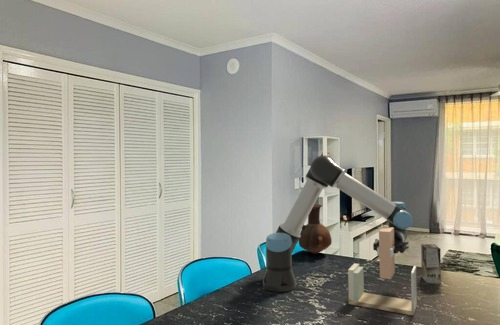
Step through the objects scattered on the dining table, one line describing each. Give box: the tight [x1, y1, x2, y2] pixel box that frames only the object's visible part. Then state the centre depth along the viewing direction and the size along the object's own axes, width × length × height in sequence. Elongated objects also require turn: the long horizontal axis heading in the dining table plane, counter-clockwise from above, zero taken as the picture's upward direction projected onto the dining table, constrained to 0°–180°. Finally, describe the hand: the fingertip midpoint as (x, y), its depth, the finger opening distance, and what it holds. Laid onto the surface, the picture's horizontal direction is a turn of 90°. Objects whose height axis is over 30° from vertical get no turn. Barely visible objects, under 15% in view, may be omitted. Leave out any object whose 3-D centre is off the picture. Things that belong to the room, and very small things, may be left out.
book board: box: [348, 292, 418, 316], centre depth 144 cm, size 24×11×2 cm, turn 60°
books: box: [347, 262, 365, 301], centre depth 149 cm, size 4×10×12 cm, turn 150°
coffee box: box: [420, 243, 442, 284], centre depth 171 cm, size 9×6×16 cm
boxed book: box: [378, 226, 396, 280], centre depth 143 cm, size 4×10×18 cm, turn 150°
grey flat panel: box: [410, 265, 418, 311], centre depth 138 cm, size 1×10×14 cm, turn 150°
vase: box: [298, 203, 333, 255], centre depth 222 cm, size 25×20×30 cm
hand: (384, 252), depth 138 cm, fingers closed on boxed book, 4 cm apart
